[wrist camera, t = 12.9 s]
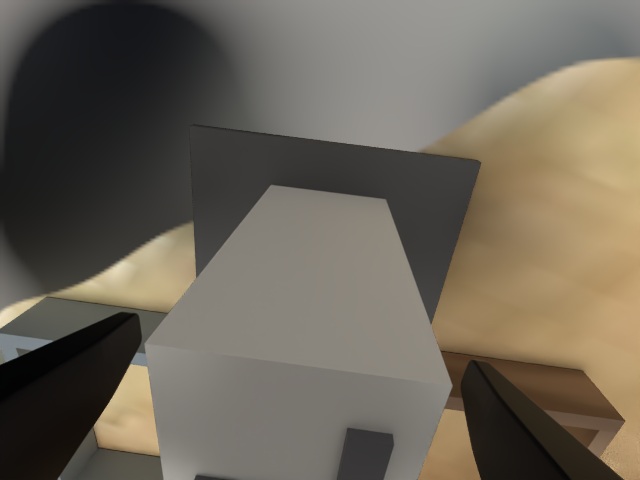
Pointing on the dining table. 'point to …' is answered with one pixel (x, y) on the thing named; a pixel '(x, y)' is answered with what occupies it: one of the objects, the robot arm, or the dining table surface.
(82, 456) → the frame
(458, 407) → the frame
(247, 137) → the dark grey flat slab
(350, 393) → the letter block
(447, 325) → the dining table surface
